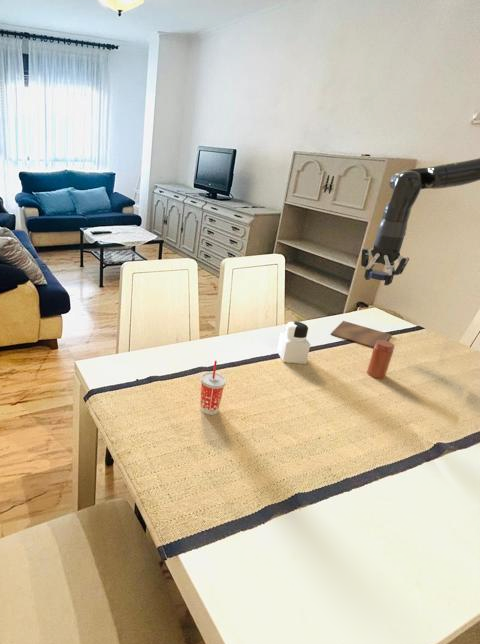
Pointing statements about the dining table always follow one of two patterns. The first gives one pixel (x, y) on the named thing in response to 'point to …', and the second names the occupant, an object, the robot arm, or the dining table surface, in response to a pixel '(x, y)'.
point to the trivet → (359, 334)
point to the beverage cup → (211, 391)
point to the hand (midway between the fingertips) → (377, 282)
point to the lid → (378, 275)
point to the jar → (380, 359)
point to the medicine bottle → (294, 343)
